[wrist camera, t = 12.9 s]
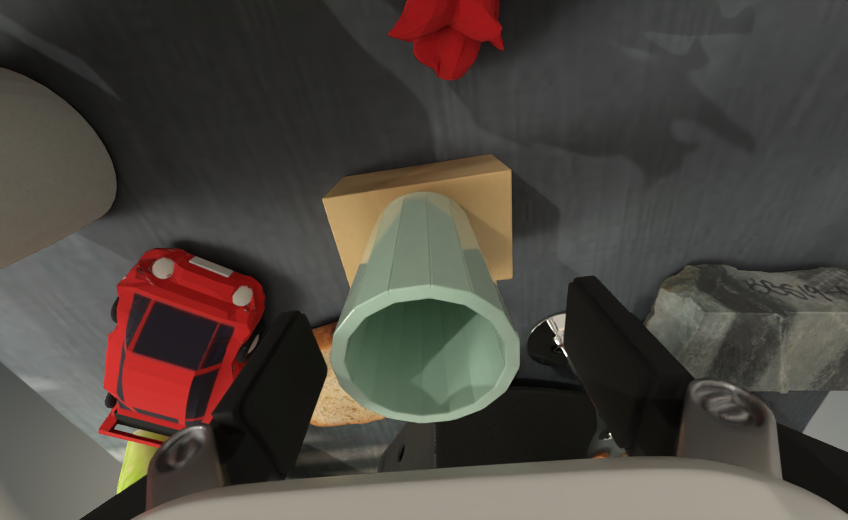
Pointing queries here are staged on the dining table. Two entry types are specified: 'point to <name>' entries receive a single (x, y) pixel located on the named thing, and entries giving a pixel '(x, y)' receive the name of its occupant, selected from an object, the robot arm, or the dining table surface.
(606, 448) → the wineglass
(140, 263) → the toy car
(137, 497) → the robot arm
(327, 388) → the slice of bread
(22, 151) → the decorative object
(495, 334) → the cup
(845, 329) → the stone block
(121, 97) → the dining table surface
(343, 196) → the maple block
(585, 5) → the dining table surface
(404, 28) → the figurine
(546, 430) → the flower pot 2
